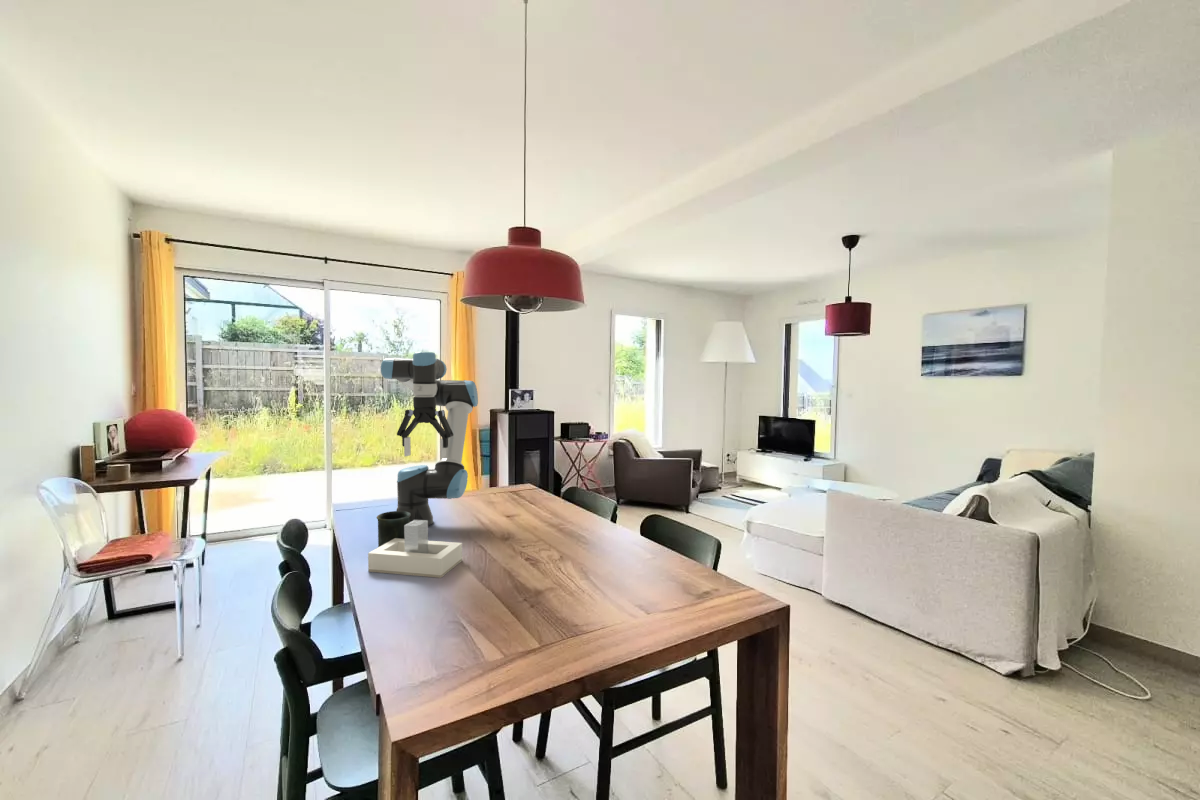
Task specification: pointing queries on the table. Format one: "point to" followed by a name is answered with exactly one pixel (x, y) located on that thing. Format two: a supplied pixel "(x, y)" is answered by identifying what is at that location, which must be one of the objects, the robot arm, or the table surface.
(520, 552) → the table surface
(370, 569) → the well block
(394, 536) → the mug
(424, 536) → the grey l-shaped block
